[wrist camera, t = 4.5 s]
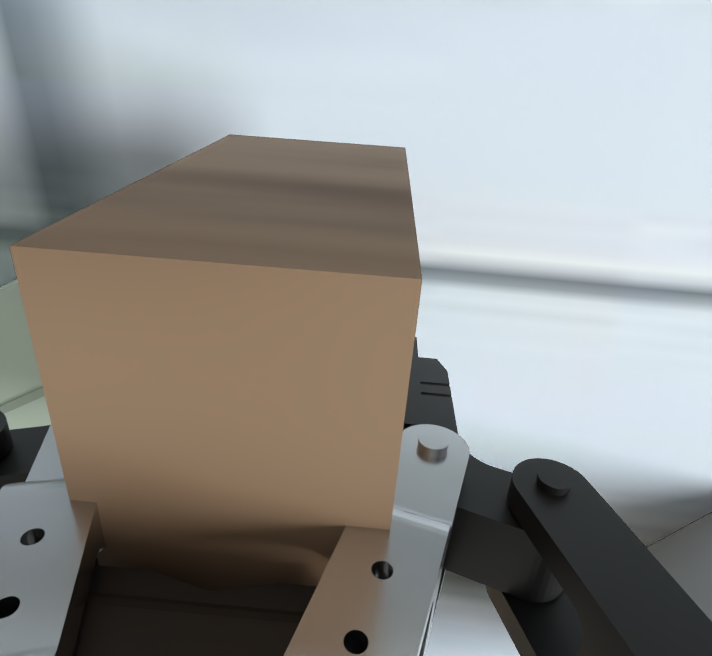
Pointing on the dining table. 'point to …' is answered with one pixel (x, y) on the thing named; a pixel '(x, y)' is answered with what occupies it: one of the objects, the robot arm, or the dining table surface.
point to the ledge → (19, 365)
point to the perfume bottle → (690, 560)
